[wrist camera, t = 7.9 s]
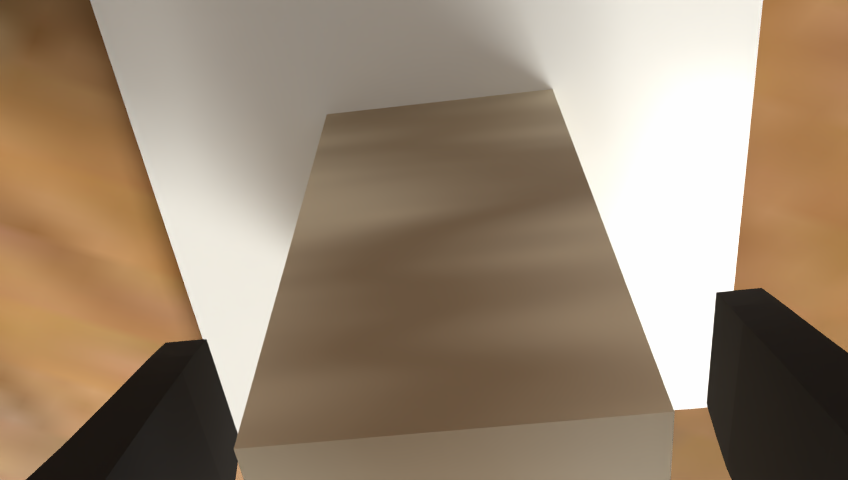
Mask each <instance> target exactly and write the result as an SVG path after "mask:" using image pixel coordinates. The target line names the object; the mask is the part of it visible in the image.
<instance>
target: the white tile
mask: <svg viewBox="0 0 848 480" xmlns="http://www.w3.org/2000/svg"><path fill="white" fill-rule="evenodd" d="M90 2H91V5H92V8H93V11H94V14H95V17H96V20H97V23H98V26H99V29H100V32H101V35H102V38H103V41H104V44H105V47H106V50H107V53H108V56H109V59H110V62H111V65H112V68H113V71H114V74H115V77H116V80H117V83H118V86H119V89H120V92H121V95H122V98H123V101H124V104H125V107H126V110H127V113H128V116H129V119H130V122H131V125H132V128H133V131H134V134H135V137H136V140H137V143H138V146H139V149H140V152H141V155H142V158H143V161H144V164H145V167H146V170H147V173H148V176H149V179H150V182H151V185H152V188H153V191H154V194H155V197H156V200H157V203H158V206H159V209H160V212H161V215H162V218H163V221H164V224H165V227H166V230H167V233H168V236H169V239H170V242H171V245H172V248H173V251H174V254H175V257H176V260H177V263H178V266H179V269H180V272H181V275H182V278H183V281H184V284H185V287H186V290H187V293H188V296H189V299H190V302H191V305H192V308H193V311H194V314H195V317H196V320H197V323H198V326H199V329H200V332H201V335H202V338H203V339H207V342H208V345H209V348H210V351H211V354H212V357H213V360H214V363H215V366H216V369H217V372H218V375H219V378H220V381H221V384H222V388H223V391H224V394H225V397H226V400H227V403H228V406H229V409H230V412H231V415H232V418H233V421H234V424H235V427H236V430H237V433H238V432H239V428H240V425H241V421H242V417H243V414H244V410H245V407H246V403H247V399H248V396H249V392H250V389H251V385H252V381H253V378H254V374H255V371H256V367H257V363H258V360H259V356H260V353H261V349H262V345H263V342H264V338H265V335H266V331H267V327H268V324H269V320H270V317H271V313H272V310H273V306H274V302H275V299H276V295H277V292H278V288H279V284H280V281H281V277H282V274H283V270H284V266H285V263H286V259H287V256H288V252H289V248H290V245H291V241H292V238H293V234H294V230H295V227H296V223H297V220H298V216H299V212H300V209H301V205H302V202H303V198H304V194H305V191H306V187H307V184H308V180H309V176H310V173H311V169H312V166H313V162H314V159H315V155H316V151H317V148H318V144H319V141H320V137H321V133H322V130H323V126H324V123H325V119H326V115H327V114H334V113H343V112H352V111H361V110H370V109H379V108H388V107H397V106H406V105H415V104H424V103H433V102H441V101H450V100H459V99H468V98H477V97H486V96H495V95H504V94H513V93H522V92H531V91H540V90H549V89H553V92H554V94H555V97H556V100H557V102H558V105H559V107H560V110H561V113H562V115H563V118H564V121H565V123H566V126H567V129H568V131H569V134H570V137H571V139H572V142H573V144H574V147H575V150H576V152H577V155H578V158H579V160H580V163H581V166H582V168H583V171H584V174H585V176H586V179H587V182H588V184H589V187H590V189H591V192H592V195H593V197H594V200H595V203H596V205H597V208H598V211H599V213H600V216H601V219H602V221H603V224H604V226H605V229H606V232H607V234H608V237H609V240H610V242H611V245H612V248H613V250H614V253H615V256H616V258H617V261H618V264H619V266H620V269H621V271H622V274H623V277H624V279H625V282H626V285H627V287H628V290H629V293H630V295H631V298H632V301H633V303H634V306H635V308H636V311H637V314H638V316H639V319H640V322H641V324H642V327H643V330H644V332H645V335H646V338H647V340H648V343H649V345H650V348H651V351H652V353H653V356H654V359H655V361H656V364H657V367H658V369H659V372H660V375H661V377H662V380H663V383H664V385H665V388H666V390H667V393H668V396H669V398H670V401H671V404H672V406H673V409H674V410H680V409H692V408H704V407H707V391H708V380H709V369H710V357H711V346H712V334H713V323H714V312H715V300H716V292H725V291H734V281H735V271H736V261H737V251H738V241H739V231H740V221H741V211H742V201H743V192H744V182H745V172H746V162H747V152H748V142H749V132H750V122H751V112H752V103H753V93H754V83H755V73H756V63H757V53H758V43H759V33H760V23H761V13H762V4H763V0H90Z"/></svg>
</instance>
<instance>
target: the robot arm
mask: <svg viewBox="0 0 848 480" xmlns="http://www.w3.org/2000/svg"><path fill="white" fill-rule="evenodd" d="M707 407H708V410H709V413H710V417H711V420H712V423H713V427H714V430H715V433H716V437H717V440H718V443H719V446H720V449H721V452H722V455H723V458H724V461H725V464H726V467H727V470H728V472H729V474H730V477H731V479H732V480H848V353H847V352H846V351H845V350H843V349H842V348H841V347H839V346H838V345H836V344H835V343H834V342H832V341H831V340H830V339H829V338H827V337H826V336H825V335H823V334H822V333H821V332H819V331H818V330H817V329H815V328H814V327H813V326H811V325H810V324H809V323H807V322H806V321H805V320H803V319H802V318H801V317H800V316H798V315H797V314H796V313H794V312H793V311H792V310H790V309H789V308H788V307H786V306H785V305H784V304H783V303H781V302H780V301H779V300H777V299H776V298H775V297H773V296H772V295H770V294H769V293H768V292H766V291H765V290H764V289H762V288H757V289H746V290H735V291H725V292H716V300H715V312H714V323H713V334H712V346H711V357H710V369H709V380H708V391H707ZM237 435H238V433H237V430H236V427H235V424H234V421H233V418H232V415H231V412H230V409H229V406H228V403H227V400H226V397H225V394H224V391H223V388H222V384H221V381H220V378H219V375H218V372H217V369H216V366H215V363H214V360H213V357H212V354H211V351H210V348H209V345H208V342H207V339H202V340H191V341H180V342H169V343H165V344H164V345H163V346H162V347H161V348H160V349H158V350H157V351H156V352H155V353H154V354H153V355H152V356H151V357H150V358H149V359H148V360H147V361H146V362H145V363H144V364H143V365H142V366H141V367H140V368H139V369H138V370H137V371H136V372H135V373H134V374H133V375H132V376H131V377H130V378H129V379H128V380H127V381H126V383H125V384H124V385H123V386H122V387H121V388H120V389H119V390H118V391H117V392H116V393H115V394H114V395H113V396H112V397H111V398H110V399H109V400H108V401H107V402H106V403H105V404H104V405H103V406H102V407H101V408H100V409H99V410H98V411H97V412H96V413H95V414H94V415H93V416H92V417H91V418H90V419H89V420H88V421H87V422H86V423H85V424H84V425H83V426H82V427H81V428H80V429H79V430H78V431H77V432H76V433H75V434H74V435H73V436H72V437H71V438H70V439H69V440H68V441H67V442H66V443H65V444H64V445H63V446H62V447H61V448H60V449H59V450H58V451H57V452H55V453H54V454H53V455H52V456H51V457H50V458H49V459H48V460H47V461H46V462H45V463H44V464H42V465H41V466H40V467H39V468H38V469H37V470H36V471H35V472H34V473H33V474H32V475H31V476H29V477H28V478H27V479H26V480H235V478H236V471H237V463H238V460H237V457H236V455H235V452H234V446H235V443H236V439H237Z"/></svg>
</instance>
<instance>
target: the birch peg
mask: <svg viewBox="0 0 848 480" xmlns="http://www.w3.org/2000/svg"><path fill="white" fill-rule="evenodd" d="M673 429H674V409H673V406H672V404H671V401H670V398H669V396H668V393H667V390H666V388H665V385H664V383H663V380H662V377H661V375H660V372H659V369H658V367H657V364H656V361H655V359H654V356H653V353H652V351H651V348H650V345H649V343H648V340H647V338H646V335H645V332H644V330H643V327H642V324H641V322H640V319H639V316H638V314H637V311H636V308H635V306H634V303H633V301H632V298H631V295H630V293H629V290H628V287H627V285H626V282H625V279H624V277H623V274H622V271H621V269H620V266H619V264H618V261H617V258H616V256H615V253H614V250H613V248H612V245H611V242H610V240H609V237H608V234H607V232H606V229H605V226H604V224H603V221H602V219H601V216H600V213H599V211H598V208H597V205H596V203H595V200H594V197H593V195H592V192H591V189H590V187H589V184H588V182H587V179H586V176H585V174H584V171H583V168H582V166H581V163H580V160H579V158H578V155H577V152H576V150H575V147H574V144H573V142H572V139H571V137H570V134H569V131H568V129H567V126H566V123H565V121H564V118H563V115H562V113H561V110H560V107H559V105H558V102H557V100H556V97H555V94H554V92H553V89H549V90H540V91H531V92H522V93H513V94H504V95H495V96H486V97H477V98H468V99H459V100H450V101H441V102H433V103H424V104H415V105H406V106H397V107H388V108H379V109H370V110H361V111H352V112H343V113H334V114H327V115H326V119H325V123H324V126H323V130H322V133H321V137H320V141H319V144H318V148H317V151H316V155H315V159H314V162H313V166H312V169H311V173H310V176H309V180H308V184H307V187H306V191H305V194H304V198H303V202H302V205H301V209H300V212H299V216H298V220H297V223H296V227H295V230H294V234H293V238H292V241H291V245H290V248H289V252H288V256H287V259H286V263H285V266H284V270H283V274H282V277H281V281H280V284H279V288H278V292H277V295H276V299H275V302H274V306H273V310H272V313H271V317H270V320H269V324H268V327H267V331H266V335H265V338H264V342H263V345H262V349H261V353H260V356H259V360H258V363H257V367H256V371H255V374H254V378H253V381H252V385H251V389H250V392H249V396H248V399H247V403H246V407H245V410H244V414H243V417H242V421H241V425H240V428H239V432H238V435H237V439H236V443H235V446H234V452H235V455H236V457H237V460H238V463H239V466H240V469H241V472H242V475H243V478H244V480H670V479H671V462H672V445H673Z"/></svg>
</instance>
